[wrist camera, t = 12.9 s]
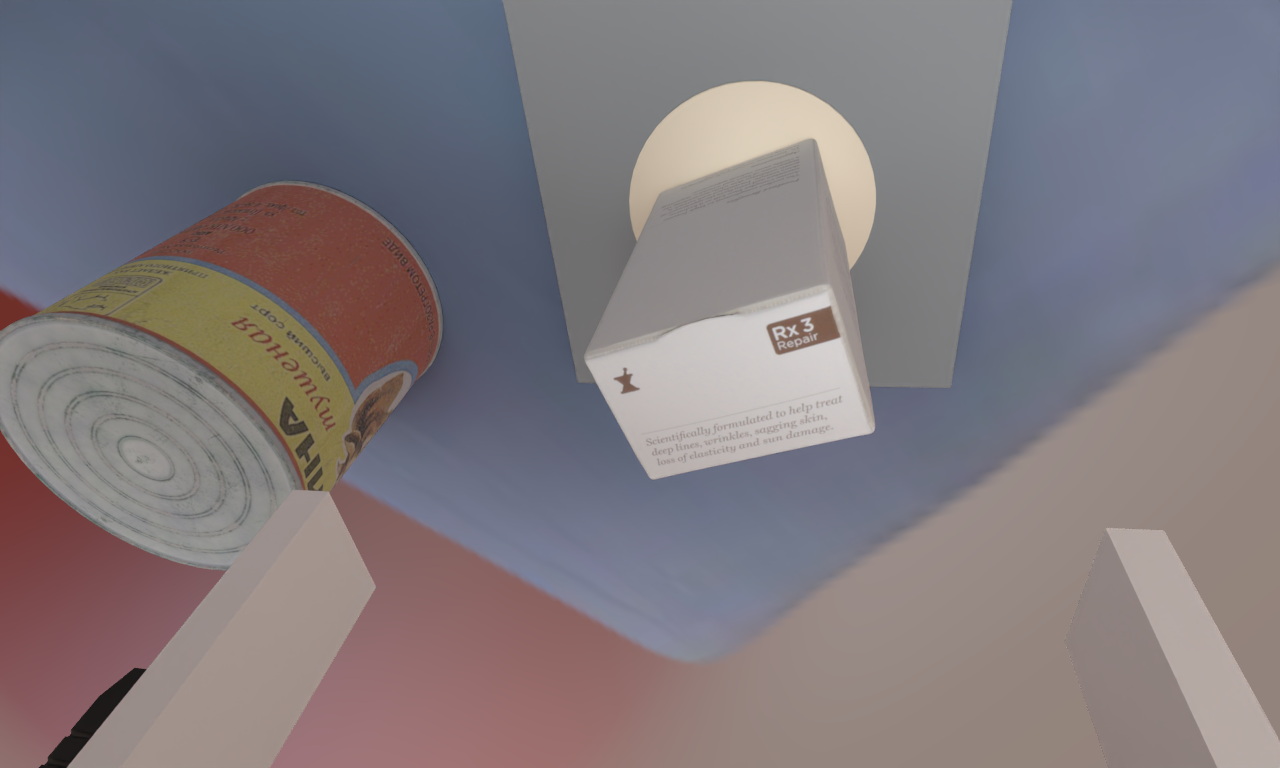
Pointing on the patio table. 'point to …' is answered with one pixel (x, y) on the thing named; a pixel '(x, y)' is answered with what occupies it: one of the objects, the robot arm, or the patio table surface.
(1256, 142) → the patio table surface
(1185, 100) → the patio table surface
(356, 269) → the canned food
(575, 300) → the slate board
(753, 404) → the skincare box
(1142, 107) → the patio table surface
